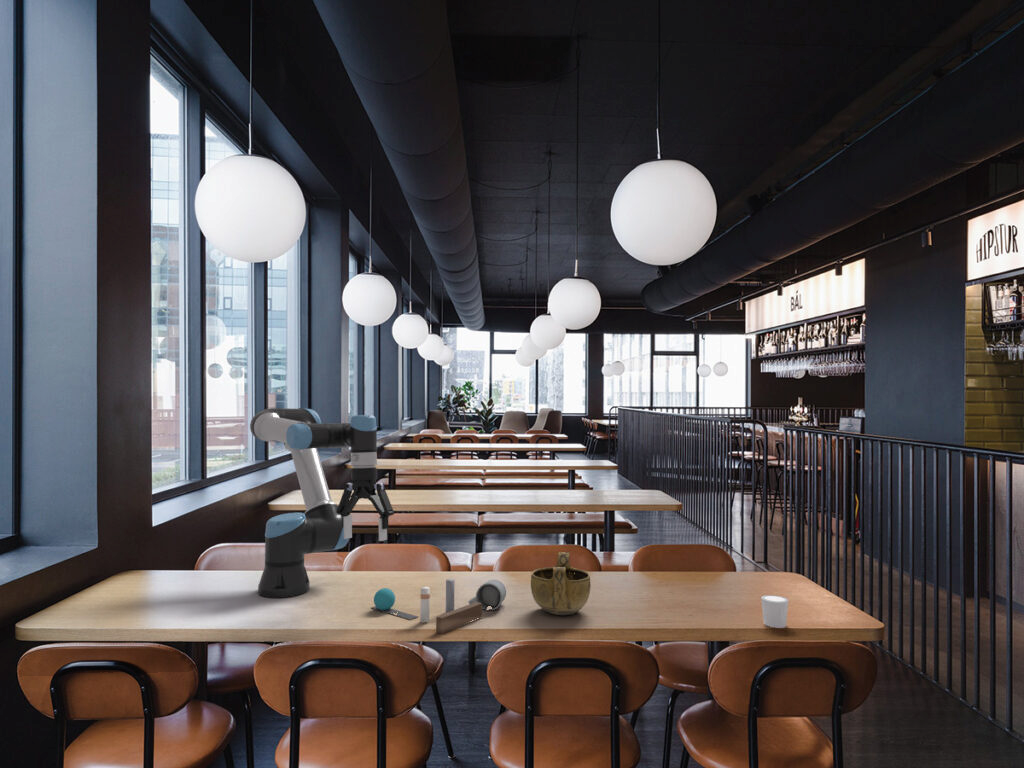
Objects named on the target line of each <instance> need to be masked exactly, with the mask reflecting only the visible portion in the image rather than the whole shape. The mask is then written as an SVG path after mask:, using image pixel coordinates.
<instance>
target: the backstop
mask: <svg viewBox="0 0 1024 768" xmlns="http://www.w3.org/2000/svg"><path fill="white" fill-rule="evenodd" d="M480 617H482V618H483V609H482V603H479V602H475V603H472V604H469V603H468V604H467V605H465V606H461V607H459V608H456V609H454V610H453V611H450V612H448V613H446V612H445V613H443V614H440V615H437V616H436V617H435V621H436V622H435V625H436V626H435V632H436V634H437V633H438V634H441V635H443V634H446V633H448V632H450V631H451V632H452V631H453V630H455V629H457V627H458V628H461V627H463V626H465V625H464V624H466V623H468V622H470V621H472V620H475V619H477V618H480ZM468 624H469V623H468ZM462 625H463V626H462ZM466 625H467V624H466ZM460 626H461V627H460Z"/></svg>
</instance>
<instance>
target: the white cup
mask: <svg viewBox="0 0 1024 768" xmlns="http://www.w3.org/2000/svg"><path fill="white" fill-rule="evenodd" d="M760 599H761V609H762V619H763V624H764V625H765V626H767V627H769V626H770V628H774V627H775V629H784V628H786V627H787V619H788V608H789V599H788V598H786V597H784V596H780V595H776V594H775V595H774V594H773V595H772V594H767V595H762V596H761V598H760Z"/></svg>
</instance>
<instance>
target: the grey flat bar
mask: <svg viewBox="0 0 1024 768" xmlns="http://www.w3.org/2000/svg"><path fill="white" fill-rule="evenodd" d="M371 608H373V610H375V609H377V610H376V611H378V610H380V609H378V608H377V607H376V606H375V605H374V606H372V607H370V609H371ZM381 611H383V612H382V613H385V612H387V613H386V614H388V613H390V614H389V615H391V613H392V614H393V613H395V614H396V613H397V612H398V613H397V616H396V617H398V616H400V617H399V618H402V617H404V618H403V619H405V618H407V619H406V620H408V619H412V620H415V619H417V618H416V617H418V618H419V616H418V615H415V614H411V613H407V612H405V611H400V610H396V609H393V608H390V609H388V610H380V611H379V612H381ZM414 618H415V619H414Z"/></svg>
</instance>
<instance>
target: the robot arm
mask: <svg viewBox="0 0 1024 768" xmlns="http://www.w3.org/2000/svg"><path fill="white" fill-rule="evenodd" d="M376 419H377V418H376V416H374V415H372V414H360V415H359V414H357V415H356V414H355V415H352V416H351V417H350V422H335V423H334V422H332V423H330V422H329V423H327V422H325V423H322V421H321V418H320V415H319V414H318V413H317V412H316V411H315V410H314V409H311V408H305V407H299V408H284V407H283V408H275V407H274V408H273V407H272V408H266V409H263V410H261V411H260V410H259V412H257V413H256V414H254V415H253V417H252V418H251V420H250V424H249V429H250V433H251V434H252V436H253V437H254V438H256V439H257V440H259V441H263V442H272V443H273V442H274V443H275V442H277V443H278V442H279V443H283V444H284V449H285V450H287V451H288V452H290V453H291V457H292V461H293V465H294V469H295V473H296V476H297V479H298V483H299V487H300V491H301V495H302V498H303V503H304V506H305V510H306V511H304V512H296V511H295V512H288V513H282V514H278V515H275V516H273V517H271V518H269V519H268V520H267V521H266V524H265V533H264V537H265V538H264V539H265V542H264V568H263V571H262V574H261V577H260V580H259V583H258V585H257V594H258V593H259V594H260V595H259V594H258V595H259V596H261V595H263V596H262V597H264V596H268V597H267V598H272V597H281V598H290V597H289V596H291V597H296V596H300V595H303V594H306V593H307V592H309V591H310V586H311V585H310V579H309V576H308V572H307V570H306V566H305V555H309V554H315V553H316V554H317V553H321V552H322V553H323V552H330V551H331V552H332V551H335V550H340V549H343V548H344V547H346V546H347V544H348V543H349V539H351V538H353V531H352V530H353V523H352V522H353V520H352V514H351V512H352V511H353V509H354V508H355V507H356V505H357V503H358V501H359V500H361V499H365V500H368V501H370V502H371V504H372V505H373V507H374V509H376V512H377V513H378V514H379V518H378V542H383V541H387V540H388V529H389V517H391V516H394V515H395V511H394V509H393V506H392V504H391V501H390V499H389V496H388V493H387V491H386V484H385V483H384V482H381V483H377V481H376V480H377V479H378V468H377V467H376V466H377V465H378V458H377V457H378V455H377V453H378V452H377V451H378V450H377V449H378V448H377V443H378V442H377V441H378V440H377V430H378V427H377V420H376ZM336 448H337V449H338V448H339V449H340V448H343V449H345V448H346V449H347V448H350V461H351V463H350V464H351V467H353V468H351V469H350V474H351V475H350V476H351V481H352V482H347V483H344V484H343V485H344V486H343V492H342V495H341V499H340V501H339V504H337V503H335V502H333V500H332V497H331V492H330V490H329V486H328V483H327V479H326V475H325V472H324V469H323V464H322V462H321V458H320V453H319V451H318V449H336ZM295 595H296V596H295Z"/></svg>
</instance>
